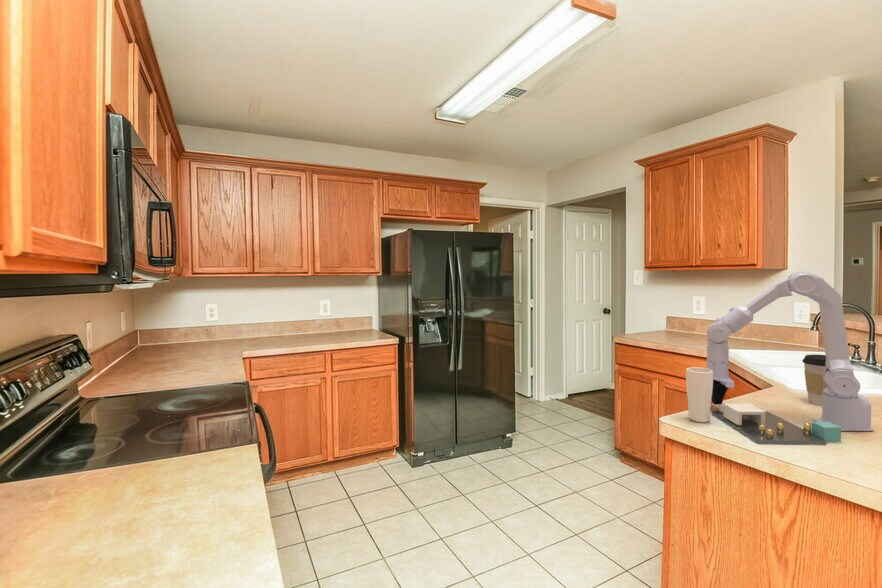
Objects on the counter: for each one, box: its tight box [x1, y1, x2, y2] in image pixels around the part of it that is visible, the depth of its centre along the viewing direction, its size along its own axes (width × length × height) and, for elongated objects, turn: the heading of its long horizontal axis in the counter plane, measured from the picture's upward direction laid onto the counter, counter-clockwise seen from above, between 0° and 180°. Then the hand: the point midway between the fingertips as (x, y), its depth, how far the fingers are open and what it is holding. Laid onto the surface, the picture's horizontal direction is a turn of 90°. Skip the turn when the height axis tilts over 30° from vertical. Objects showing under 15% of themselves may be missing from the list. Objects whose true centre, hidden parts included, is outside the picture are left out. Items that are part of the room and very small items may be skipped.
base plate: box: [711, 410, 827, 445], centre depth 118 cm, size 16×22×4 cm
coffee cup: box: [801, 354, 828, 407], centre depth 136 cm, size 10×10×15 cm
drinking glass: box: [685, 366, 713, 424], centre depth 125 cm, size 7×7×15 cm
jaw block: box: [811, 421, 842, 443], centre depth 109 cm, size 4×4×4 cm
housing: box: [718, 403, 765, 425], centre depth 123 cm, size 7×12×4 cm, turn 174°
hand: (717, 404), depth 134 cm, fingers closed
